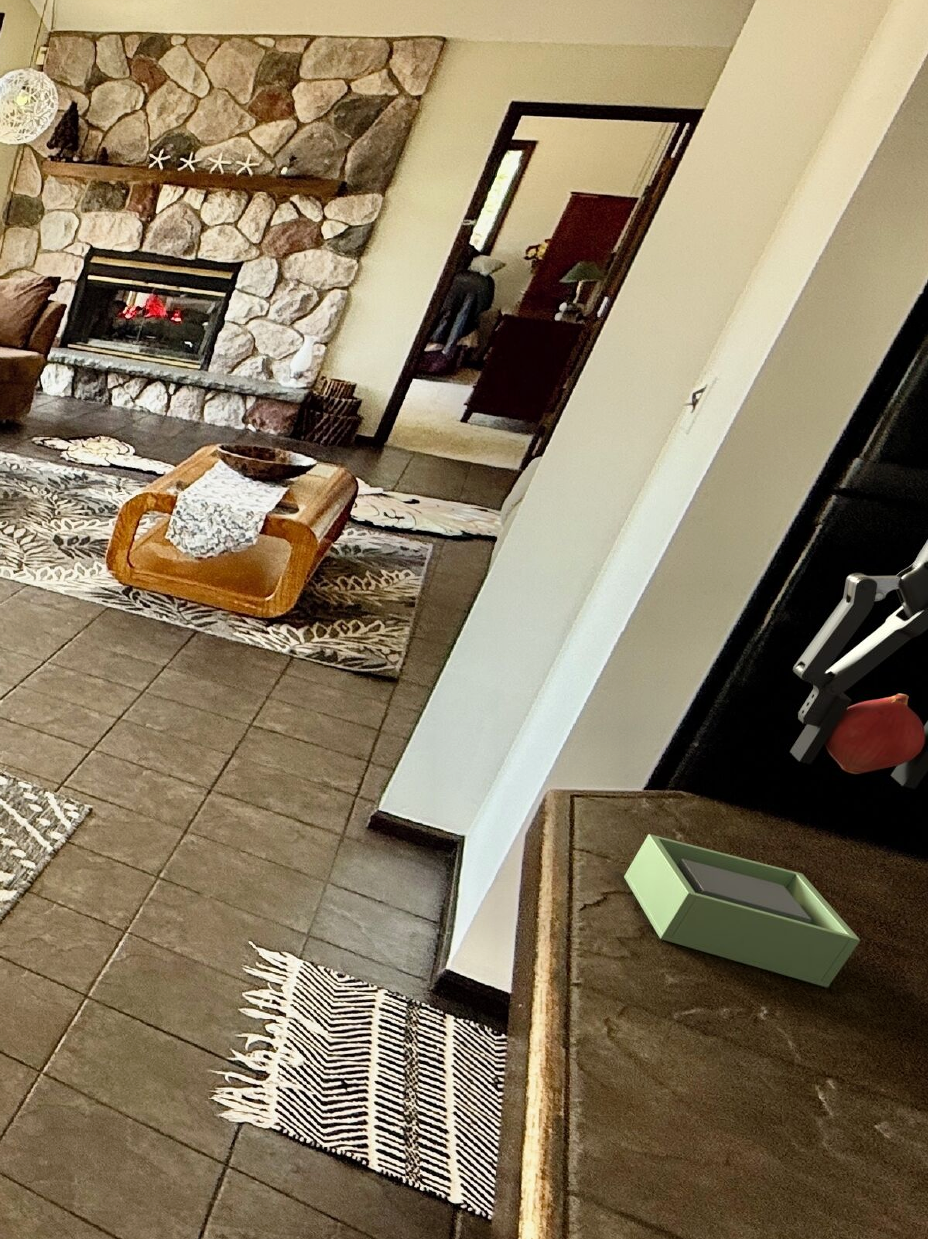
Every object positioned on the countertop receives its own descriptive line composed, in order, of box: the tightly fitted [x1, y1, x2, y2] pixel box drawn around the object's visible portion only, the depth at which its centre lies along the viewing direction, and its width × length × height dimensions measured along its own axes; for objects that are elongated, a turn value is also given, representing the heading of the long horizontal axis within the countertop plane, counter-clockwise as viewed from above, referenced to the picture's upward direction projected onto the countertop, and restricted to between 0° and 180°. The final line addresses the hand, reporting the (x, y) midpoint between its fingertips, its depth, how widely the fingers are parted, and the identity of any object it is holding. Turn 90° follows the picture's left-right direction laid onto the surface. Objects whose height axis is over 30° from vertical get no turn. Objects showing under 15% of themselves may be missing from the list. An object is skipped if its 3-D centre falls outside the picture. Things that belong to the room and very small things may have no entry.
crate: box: [623, 833, 861, 989], centre depth 106 cm, size 11×13×5 cm
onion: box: [823, 693, 925, 775], centre depth 103 cm, size 6×6×8 cm
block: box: [677, 859, 811, 924], centre depth 106 cm, size 7×7×4 cm
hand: (850, 769), depth 105 cm, fingers closed on onion, 6 cm apart
